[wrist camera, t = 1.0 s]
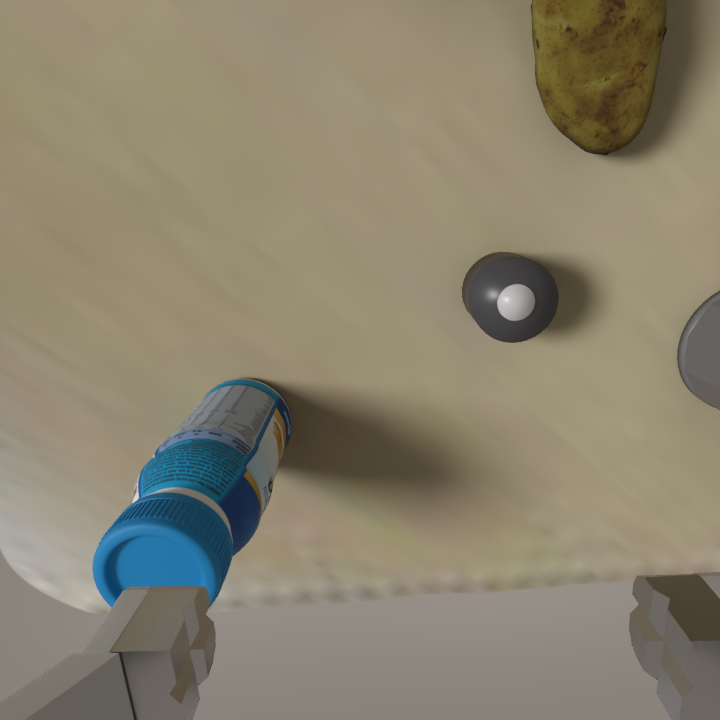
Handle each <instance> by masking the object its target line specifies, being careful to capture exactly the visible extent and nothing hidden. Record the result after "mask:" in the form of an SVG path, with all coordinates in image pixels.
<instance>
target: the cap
mask: <svg viewBox="0 0 720 720" xmlns="http://www.w3.org/2000/svg"><path fill="white" fill-rule="evenodd" d="M462 298H463V302H464V305H465V307H466V309H467V311H468V312H469V313H470V315H471V316H472V317H473V319H474V320H475V321H476V322H477V324H478V325H479V326H480V327H481V329H482V330H483V331H484V332H485V333H486V334H488V335H489V336H490V337H492V338H494V339H496V340H499V341H503V342H509V343H515V342H522V341H526V340H528V339H531V338H533V337H535V336H536V335H538V334H539V333H541V332H542V331H543V330H544V329H545V328H546V327H547V326H548V325H549V323H550V322H551V320H552V319H553V317H554V315H555V312H556V309H557V305H558V290H557V286H556V283H555V281H554V279H553V277H552V276H551V274H550V273H549V272H548V271H547V270H546V269H545V268H544V267H542V266H541V265H539V264H537V263H535V262H533V261H530V260H528V259H525V258H523V257H521V256H518V255H516V254H513V253H508V252H497V253H492V254H489V255H487V256H485V257H483V258H481V259H480V260H478V261H477V262H476V263H475V264H474V265H473V266H472V267H471V268H470V269H469V271H468V273H467V274H466V276H465V279H464V282H463V287H462Z"/></svg>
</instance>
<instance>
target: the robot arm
mask: <svg viewBox="0 0 720 720" xmlns="http://www.w3.org/2000/svg"><path fill="white" fill-rule="evenodd" d="M632 594H633V595H634V597H635V599H636V600H637V602H638V604H639V605H638V606H637V607H636V608H635V609H634V610H633V611H632V612H631V613H630V624H629V631H630V637H631V642H632V646H633V649H634V652H635V654H636V657H637V659H638V661H639V663H640V665H641V666H642V668H643V670H644V671H645V672H647V673H648V674H650V675H651V676H652V677H654V678H655V679H656V680H658V685H657V694H658V696H659V698H660V700H661V702H662V703H663V705H664V707H665V708H666V710H667V712H668V714H669V715H670V717H671V719H672V720H720V572H708V573H693V574H675V575H642V576H637V577H636V579H635V581H634V584H633V593H632ZM209 606H210V599H209V594H208V589H207V588H205V587H204V586H154V587H129V588H127V589H125V590H124V591H123V592H122V593H121V595H120V596H119V598H118V599H117V601H116V602H115V604H114V605H113V607H112V608H111V610H110V611H109V613H108V614H107V615H106V617H105V619H104V620H103V621H102V623H101V624H100V626H99V627H98V629H97V630H96V632H95V633H94V635H93V636H92V638H91V639H90V641H89V642H88V644H87V645H86V647H85V648H84V650H83V651H82V653H81V654H72V655H70V656H69V657H67V658H66V659H64V660H63V661H61V662H60V663H58V664H57V665H55V666H54V667H52V668H51V669H49V670H48V671H46V672H45V673H44V674H42V675H40V676H39V677H37V678H36V679H34V680H33V681H31V682H30V683H28V684H27V685H25V686H24V687H22V688H21V689H20V690H18V691H16V692H15V693H14V694H12V695H11V696H9V697H7V698H6V699H4V700H3V701H1V702H0V720H192V719H193V716H194V714H195V711H196V708H197V705H198V703H199V700H200V697H199V692H198V685H200V684H201V683H202V682H203V681H204V680H205V679H206V678H207V677H208V675H209V672H210V669H211V666H212V664H213V658H214V652H215V646H216V645H215V644H216V643H215V627H214V622H213V621H212V620H211V619H210V618H209V617H208V616H207V615H206V613H207V611H208V608H209Z"/></svg>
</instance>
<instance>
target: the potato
mask: <svg viewBox="0 0 720 720" xmlns="http://www.w3.org/2000/svg"><path fill="white" fill-rule="evenodd" d="M531 12H532V36H533V46H534V53H535V60H536V62H535V77H536V85H537V88H538V91H539V94H540V97H541V100H542V103H543V105H544V108H545V110H546V113H547V114H548V116H549V118H550V120H551V121H552V123H553V124H554V125H555V126H556V128H557V129H558V130H559V131H560V132H561V133H562V134H563V135H565V136H566V137H567V138H569V139H570V140H571V141H572V142H574V143H575V144H576V145H577V146H579V147H580V148H581V149H583V150H584V151H586V152H589V153H593V154H602V155H607V154H609V153H611V152H614V151H617V150H619V149H621V148H623V147H624V146H626V145H627V144H629V143H630V142H631V141H632V140H633V139H634V138H635V137H636V136H637V135H638V134H639V132H640V130H641V129H642V127H643V125H644V123H645V121H646V118H647V116H648V112H649V109H650V105H651V101H652V96H653V91H654V86H655V81H656V75H657V69H658V63H659V58H660V52H661V46H662V41H663V39H664V35H665V33H666V30H667V28H666V27H665V22H666V0H532V5H531Z"/></svg>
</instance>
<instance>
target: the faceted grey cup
mask: <svg viewBox="0 0 720 720" xmlns="http://www.w3.org/2000/svg"><path fill="white" fill-rule="evenodd" d="M677 360H678V368H679V372H680V375H681V377H682V380H683V382H684V383H685V385H686V386H687V388H688V389H689V390H690V391H691V392H692V393H693V394H694V395H695V396H696V397H697V398H699V399H700V400H702V401H704V402H705V403H707V404H709V405H710V406H712V407H715V408H717V409H719V410H720V291H719V292H717V293H716V294H714V295H712V296H711V297H710V298H709V299H707V300H706V301H705V302H704V303H703V304H702V305H701V306H700V307H699V308H698V309H697V310H696V311H695V312H694V314H693V315H692V316H691V318H690V319H689V321H688V323H687V324H686V326H685V328H684V330H683V332H682V335H681V338H680V341H679V346H678V356H677Z"/></svg>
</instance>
